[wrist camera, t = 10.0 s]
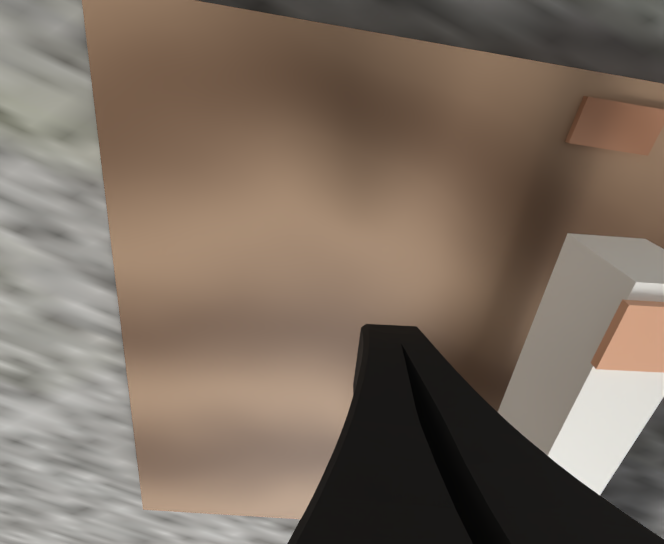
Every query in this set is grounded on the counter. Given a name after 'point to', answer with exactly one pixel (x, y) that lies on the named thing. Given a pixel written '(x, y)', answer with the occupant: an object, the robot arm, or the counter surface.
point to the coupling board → (332, 223)
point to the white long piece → (592, 356)
